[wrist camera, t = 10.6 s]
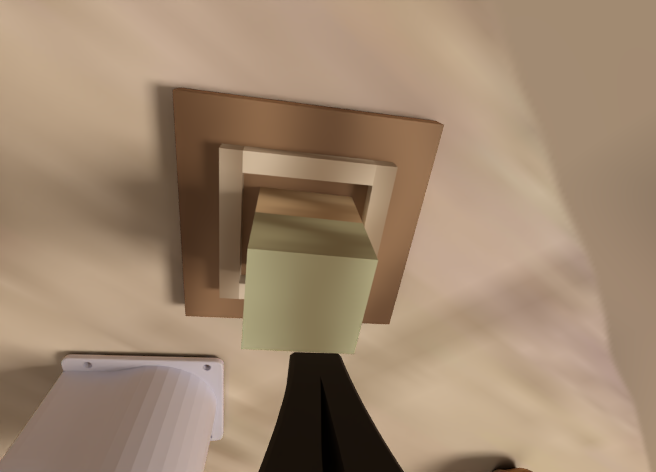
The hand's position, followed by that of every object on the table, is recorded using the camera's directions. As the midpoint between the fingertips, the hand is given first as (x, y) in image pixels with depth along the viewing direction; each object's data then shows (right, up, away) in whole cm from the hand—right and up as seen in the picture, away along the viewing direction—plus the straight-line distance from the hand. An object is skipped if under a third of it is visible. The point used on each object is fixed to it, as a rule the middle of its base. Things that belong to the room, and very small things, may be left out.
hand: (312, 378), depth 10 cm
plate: (-1, +5, +9) cm, 10 cm away
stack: (-1, +4, +8) cm, 9 cm away
